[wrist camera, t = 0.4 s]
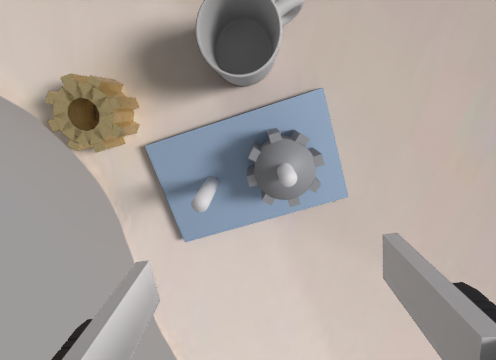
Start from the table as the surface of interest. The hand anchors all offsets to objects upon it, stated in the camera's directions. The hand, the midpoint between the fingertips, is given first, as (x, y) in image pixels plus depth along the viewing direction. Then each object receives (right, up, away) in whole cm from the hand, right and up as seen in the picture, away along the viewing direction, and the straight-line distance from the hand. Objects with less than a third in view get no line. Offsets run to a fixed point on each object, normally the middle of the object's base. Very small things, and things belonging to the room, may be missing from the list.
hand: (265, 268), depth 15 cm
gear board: (-1, +7, +25) cm, 26 cm away
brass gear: (-21, +15, +24) cm, 35 cm away
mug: (0, +23, +21) cm, 31 cm away
